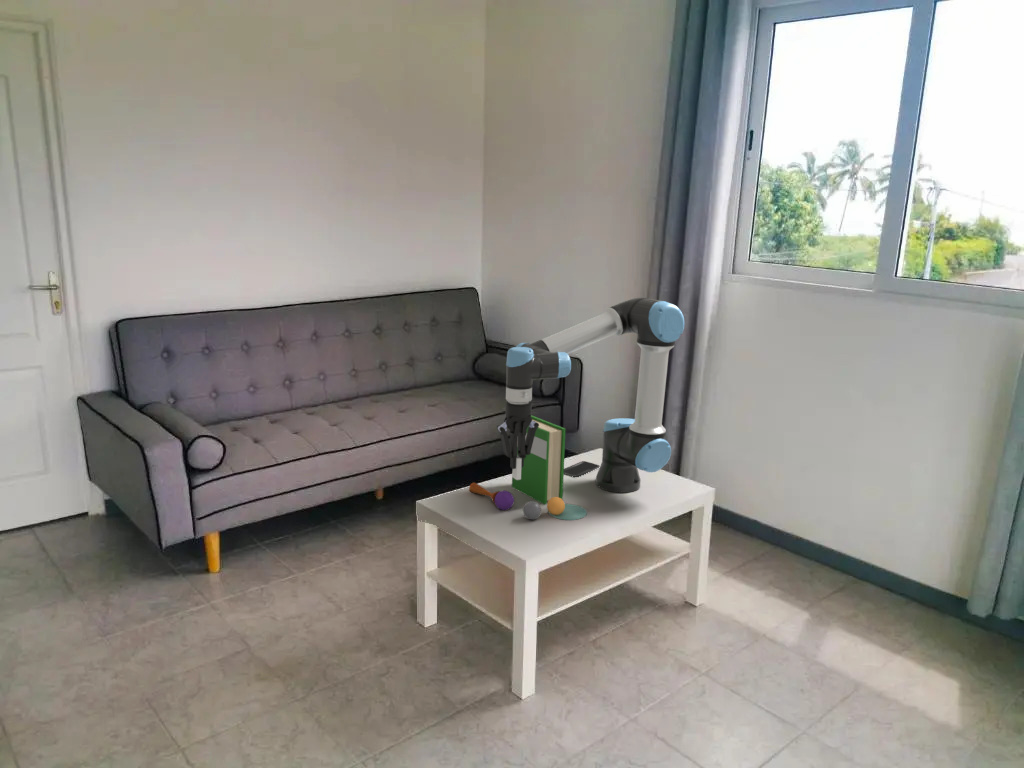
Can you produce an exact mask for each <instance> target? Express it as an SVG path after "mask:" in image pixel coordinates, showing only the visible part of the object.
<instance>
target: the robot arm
mask: <svg viewBox="0 0 1024 768" xmlns="http://www.w3.org/2000/svg"><path fill="white" fill-rule="evenodd" d="M684 329H685V317H684V314H683V313H682V310H681V309H680V308H679V307H678V306H677V305H675V304H673V303H670V302H668V301H664V300H658V299H652V298H647V297H636V298H635V297H634V298H630V299H627V300H625V301H622V302H619V303H618V304H617V303H616V304H615V305H612V306H609V307H608V308H606V309H605V310H604V312H603V313H601V314H599V315H596V316H594V317H592V318H589V319H586V320H584V321H583V322H580V323H578V324H575V325H573V326H571V327H568V328H566V329H563V330H561V331H558V332H556V333H554V334H552V335H549V336H546V337H544V338H541V339H538V340H536V341H534V342H532V343H529V342H521V343H518V344H517V345H516V346H514V347H511V348H509V349H508V350H507V354H506V363H505V367H506V373H505V374H506V375H505V377H506V380H505V400H506V401H505V412H504V413H505V418H504V419H503V423H502V424H500V425H496V429H497V430H498V432H499V435H500V440H501V444H502V449H503V454H504V456H506V457H508V458H510V461H509V462H510V463H509V464H510V465H509V466H510V468H511V469H513V472H512V471H511V473H512V474H511V475H512V477H513V478H514V479H516V480H520V479H521V468H522V467H523V466H524V459H525V458H526V455H529V454H530V452H531V448H532V444H533V440H534V436H535V432H536V430H537V428H538V426H539V424H538V423H537V422H535V421H533V420H532V417H531V415H532V411H533V410H532V409H533V407H532V404H533V403H532V402H531V401H532V400H533V381H538V380H547V379H548V380H551V379H560V378H566V377H567V376H569V375H570V373H571V370H572V360H571V357H570V354H572V353H574V352H576V351H578V350H581V349H584V348H586V347H588V346H590V345H591V346H592V344H595V343H598V342H599V341H602V340H605V339H607V338H609V337H611V336H615V337H620V336H622V335H624V334H637V337H636V344H637V345H638V346H639V347H640V358H639V359H640V360H639V367H638V368H639V369H638V381H637V388H636V389H637V390H636V391H637V392H636V400H635V401H636V402H635V403H636V404H635V413H634V418H626V417H625V418H622V417H621V418H612V419H608V420H606V421H605V422H604V425H603V431H602V432H603V435H602V436H603V437H602V438H603V439H602V456H601V458H602V459H601V464H600V465H599V466H600V468H599V469H598V471H597V474H596V477H595V485H596V486H597V487H598V488H600V489H602V490H605V491H609V492H611V493H612V492H613V493H631V492H636V491H638V490H639V489H640V488H641V476H640V473H639V471H640V470H641V471H644V472H646V473H655V472H659V471H660V470H662V469H663V468H664V466H666V465H667V464H668V462H669V460H670V458H671V455H672V447H671V445H670V443H669V442H668V440H666V433H667V431H666V430H667V429H666V428H665V426H663V424H662V423H663V414H664V403H665V394H666V393H665V392H666V385H667V384H666V383H667V374H668V363H669V353H670V350H672V349H673V348H674V347H675V345H676V343H675V342H676V341H677V340H679V339H680V337H681V335H682V334H683V333H684V331H685V330H684ZM528 426H529V428H528ZM527 428H528V432H527V436H526V429H527ZM507 431H509V436H508V433H507ZM525 436H526V440H525ZM517 441H518V456H517ZM512 477H511V478H512Z"/></svg>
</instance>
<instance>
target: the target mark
mask: <svg viewBox="0 0 1024 768" xmlns="http://www.w3.org/2000/svg"><path fill="white" fill-rule="evenodd" d="M547 513H548V514H549V515H550V516H551V517H553V518H555V519H557V520H562V521H563V520H564V521H575V520H576V519H577V520H580V518H581V519H583V518H585V517H586V516H587V513H588V511H587V510H586V509H585V508H584V507H582V506H580V505H576V504H572V503H565V509H564V511H563V512H562V513H561V514H559V515H553V514H551V513H550V512H549V511H548V510H547ZM584 516H585V517H584ZM582 517H583V518H582Z"/></svg>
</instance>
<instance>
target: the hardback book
mask: <svg viewBox="0 0 1024 768" xmlns="http://www.w3.org/2000/svg"><path fill="white" fill-rule="evenodd" d="M531 417H532V420H533V421H535V422H537V423H538V424H539V426H538V428H537V430H536V432H535V436H534V440H533V444H532V448H531V452H530V454H529V455H526V458H525V459H524V466H523V467H522V468H521V479H520V480H516V479H514V478H513V477H511V488H513V489H514V490H516V489H517V491H518V490H519V492H520V493H522V494H524V495H526V496H527V497H530V498H532V499H533V500H536V502H538V503H539V502H540V503H541V504H543V505H547V503H548V501H549V500H550V499H551V498H553V497H559V498H561V499H562V500H563V498H564V497H563V496H564V493H563V492H564V475H565V474H564V469H565V453H566V452H565V451H566V449H565V448H566V431H567V430H566V427H562V426H560V425H557V424H555V423H552V422H549V421H547V420H544V419H542V418H539V417H537V416H534V415H532V414H531ZM528 428H529V426H528ZM528 428H527V429H526V436H527V432H528ZM526 436H525V440H526ZM517 456H518V441H517ZM511 469H512V468H511ZM512 472H513V469H512V470H511V473H512ZM563 501H564V500H563Z"/></svg>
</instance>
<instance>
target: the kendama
mask: <svg viewBox="0 0 1024 768" xmlns="http://www.w3.org/2000/svg"><path fill="white" fill-rule="evenodd" d="M468 488H469V489H468V491H469V492H470V493H473V494H476V495H477V494H478V495H483V496H485V497H490V498H491V500H492V502H493V504H494V505H495V506H496V507H497V508H498V509H499V510H502V511H507V510H509V509H511V508H512V507H513V505H514V502H515V497H514V495H513V493H511V492H510V491H509V490H500V491H494V492H491V491H489V490H488V489H486V488H485V487H483V486H481V485H479V484H477V483H476V482H472V483H470V485H469V487H468Z"/></svg>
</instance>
